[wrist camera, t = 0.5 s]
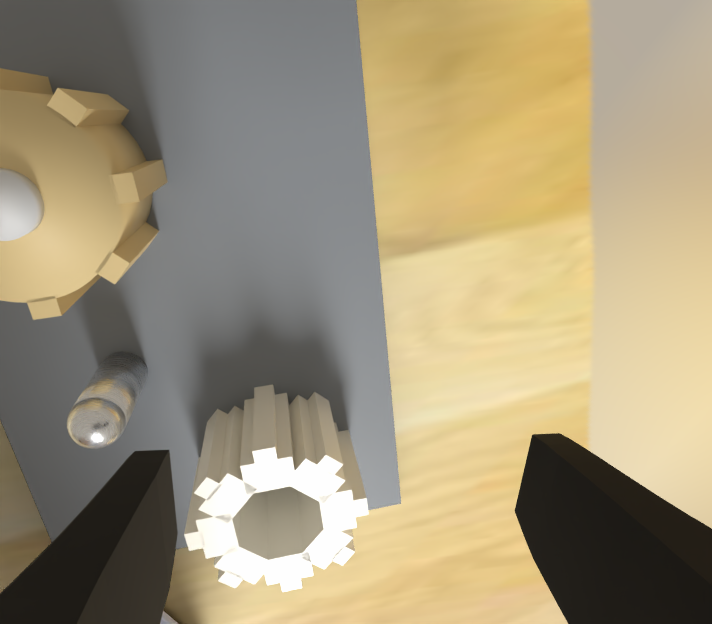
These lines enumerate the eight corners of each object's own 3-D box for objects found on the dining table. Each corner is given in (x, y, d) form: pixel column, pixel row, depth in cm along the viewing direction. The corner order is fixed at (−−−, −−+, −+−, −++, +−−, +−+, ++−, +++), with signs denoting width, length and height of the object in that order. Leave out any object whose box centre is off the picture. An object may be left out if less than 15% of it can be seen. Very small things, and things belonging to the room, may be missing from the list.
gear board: (395, 488, 23) (431, 590, 18) (72, 552, 22) (14, 684, 17) (347, -27, 16) (386, -93, 11) (-146, 13, 14) (-367, -43, 9)
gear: (189, 500, 21) (172, 583, 17) (217, 374, 19) (206, 437, 15) (326, 516, 22) (338, 596, 18) (364, 400, 20) (387, 463, 17)
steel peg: (120, 399, 19) (84, 469, 15) (89, 366, 18) (45, 431, 14) (157, 376, 19) (131, 441, 15) (128, 343, 18) (92, 401, 14)
